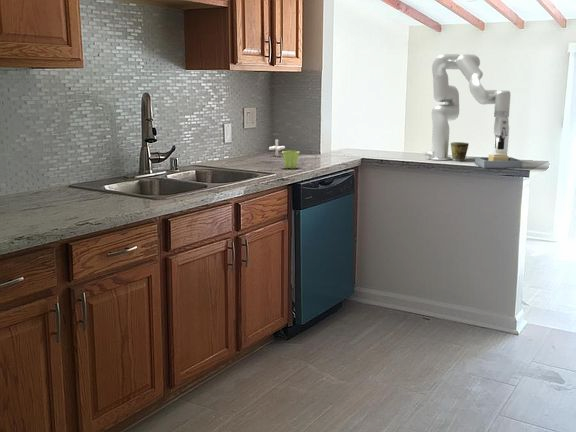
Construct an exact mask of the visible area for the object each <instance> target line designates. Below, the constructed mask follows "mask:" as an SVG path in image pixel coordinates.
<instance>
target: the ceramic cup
mask: <svg viewBox="0 0 576 432" xmlns="http://www.w3.org/2000/svg"><path fill="white" fill-rule="evenodd" d="M450 149H451V157H452V161H453V160H454V161H453V162H464V160H465V161H466V157H467V153H468V149H469V142H461V141H460V142H458V141H457V142H450Z"/></svg>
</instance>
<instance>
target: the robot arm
mask: <svg viewBox="0 0 576 432" xmlns="http://www.w3.org/2000/svg"><path fill="white" fill-rule="evenodd" d="M480 65H481V60H480V58H479V56H478V55H476V54H470V53H467V54H466V53H465V54H459V53H442V54H440V55H437V56H436V57H435V58H434V59H433V61H432V65H431V72H432V73H431V74H432V83H433V86H432V87H433V99H434V100H435V101H436V102H438V103H444V104H438V105H435V106H434V107H433V109H432V111H431V120H432V137H431V150H430V151H428V152H427V151H426V152H423V153H422V154H423V156H425V157H427V156H428V160H434V161H449V160H451V157H452V156H449V145H450V143H449V142H450V125H449V122H451V121H455V120H457V118H459V115H460V94H459V90H458V88H457V87H456V86H454V85H450V83H449V75H448V73H447V70H459V71H460V72H461V74H462V75H463V76H464V77H465V79H466V80H467V82H468V86H469V88H468V89H469V92H470V94H471V95H472V97H473V98H474V100H476V102H477V103H479V104H481V105H494V112H493V117H494V125H493V135H494V134H495V136H496V138H497V136H499V142H498V149H504V142H505V137H506V136H508V130H509V131H510V124H509V121H510V120H509V118H510V109H511V91H510V90H495V89H485V88H484V86H483V85H482V84H481V81H480V80H481V79H482V78H483V75H484V74H483V71H482V70H481V68H480ZM496 138H495V148H496Z"/></svg>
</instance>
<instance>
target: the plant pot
mask: <svg viewBox="0 0 576 432" xmlns="http://www.w3.org/2000/svg"><path fill="white" fill-rule="evenodd" d="M281 154H282V156H283V162H284V167H285V169H288V168H289V169H292V168H293V169H297V166H298V158H299V154H300V151H297V150H285V151H283V150H282V152H281Z"/></svg>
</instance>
